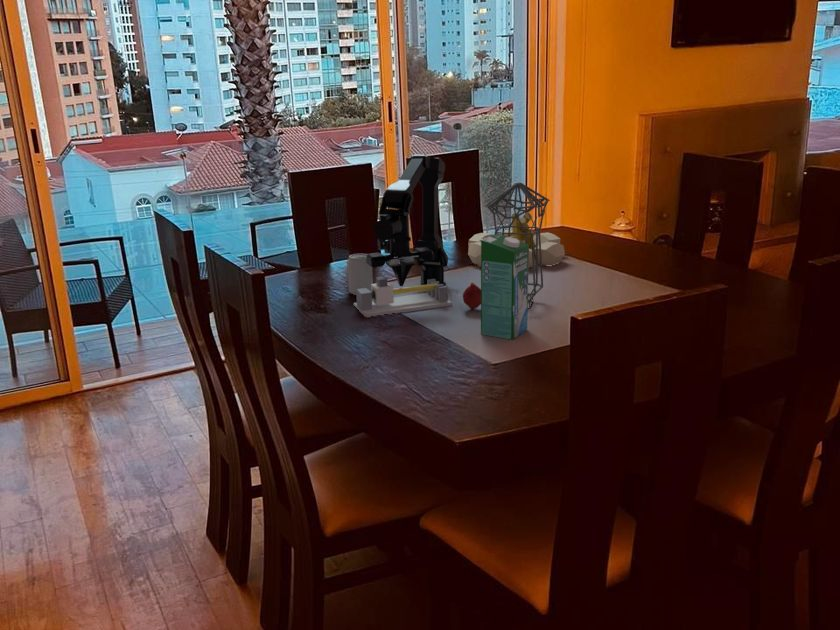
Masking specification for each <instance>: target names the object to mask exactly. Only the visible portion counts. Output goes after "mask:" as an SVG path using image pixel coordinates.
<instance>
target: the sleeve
mask: <svg viewBox="0 0 840 630" xmlns="http://www.w3.org/2000/svg"><path fill="white" fill-rule="evenodd" d="M393 289H394V286H393V285H392V284H391V283H389V282H388V278H387V277H385V276H377V277H375V283H373V284H371V291H375V294H376V298H374V299H372V301H373V302H374V303H375V304H376V305H383V304H390V303H394V297H395V296H394V295H393Z"/></svg>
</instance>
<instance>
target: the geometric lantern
mask: <svg viewBox="0 0 840 630" xmlns="http://www.w3.org/2000/svg"><path fill="white" fill-rule="evenodd" d="M521 193H523V194H524V196H525V197H526V199H527V200H528V201H523V200H522V196H521ZM509 194H510V195H509ZM513 194H514V199H512V196H513ZM508 195H509V196H508ZM535 195H536V196H535ZM507 196H508V198H506V197H507ZM537 196H538V197H540V198H538V197H537ZM517 197H518V198H519V199H518V200H517ZM501 201H504V202H505V205H501V204H500V205H499V203H501ZM549 201H551V199H549V198H547V197H546V196H544V195H542V194H541V193H539V192H537V191H535V190H534V189H532V188H531V187H529V186H527V185H526V184H524V183H523V182H515V183H513V184H512V185H511V186H510V187H509V188H507V189H506V190H504V191H503V192H501V193H500V194H499V195H497V196H496V197H495V198H493V199H492V200H489V202H487V203H486V204H485V206H486V208H487V209H488V210H489V211H490V212H491V213H492V215H493V223H494V234H496V233H499V234H502V235H504V234H508V237H510V234H520V235H525V244H527V235H531V242H532V262H533V266H532V277H533V279H532V280H533V283H531V282H528V286H533V289H532V291H531V292H530V293H529V292H528V307H530V305H531V301H530V300H533V301H534V297H535V296H536V295H537V294H538V293H539V292H540V291H541V290H542V289H543V288H544V278H543V277H544V276H543V265H542V256H541V239H540V233H541V230H542V225H543V220H544V216H545V214H546V213H545V212H546V207H547V205H548V203H549ZM511 202H514V203H511ZM517 203H520V206H517ZM523 204H526V205H525V206H523ZM529 204H530V205H529ZM528 205H529V206H528ZM499 208H501V209H503V210H504V213H502V212H500V211H499V210H498V209H499ZM508 208H509V209H513V212H514V213H513V214H515V216H512V215H511V216H507V211H506V209H508ZM535 208H537V215H536V216H535V219H534V220H533V217H532V218H531V216H532V215H531V216H530V214H531V213H530V212H531V211H533V210H534V209H535ZM516 211H517V212H516ZM516 213H517V214H516ZM525 213H528V215H529V216H530V218H531V220H530V221H531V222H532V226H529V227H525V226H523V225H522V223H521V221H520V220H519V218H520V216H522V215H524V214H525ZM529 213H530V214H529ZM496 216H497V219H498V220H499V222H500V224H499V225H498V226H497V221H496ZM500 216H501V217H503V219H502V220H501V217H500ZM518 216H519V218H518ZM540 217H541V218H540ZM512 218H514V219H513V220H512ZM516 218H517V220H518V221H519V223H520V225H521V226H512V224H513V222H514V220H515V219H516ZM538 218H540V222H539V227H538V226H536V224H535V223H536V221H537V219H538ZM505 219H506V220H508V219H511V222H510V224H509V225H504V224H503V223H504V221H505ZM512 227H517V228H523V230H524V231H525V233H510V230H511V228H512ZM525 228H529V229H531V230H530V233H527V231H526V230H525ZM505 229H507V230H508V233H506V232H504V231H505ZM533 229H535V231H533V232H534V233H531V231H532V230H533ZM500 230H502V231H500ZM533 234H534V235H536V256H535V251H534V242H533ZM538 237H539V254H540V266H539V263H538ZM534 259H535V263H536V265H535V264H534ZM538 267H539V268H540V284H539V282H538V281H539V280H538V277H539V276H538V275H539V271H538V270H539V268H538ZM537 286H538V287H539V288H538V289H537Z"/></svg>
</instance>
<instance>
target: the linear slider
mask: <svg viewBox="0 0 840 630" xmlns="http://www.w3.org/2000/svg"><path fill="white" fill-rule="evenodd" d="M448 287H449V286H445V285H443V284H439V281H436V280H435V279H430V280H427V285H424V284H421V285H413V286H406V287H404V286H403V287H397V288H393V297H394V303H390V304H383V305H376V304H375V303H374V302H373V301H372V299H374V298H376V294H375V291H369V290H368V289H367V288H362V289H356V302H353V307H354V306H355V307H356V308H357V309H358V310H359V311H358V310H357V309H356V308H355V307H354V308H355V309H356V310H357V311H358V312H359V313H361V314H362V315H363V316H364V318H366V317H367V318H372V317H371V316H374V317H378V316H377V315H381V316H385V315H384V314H388V315H393V314H392V313H395V314H401V313H400V312H403V313H408V312H415V311H416V312H417V311H423V310H430V309H438V308H445V307H452V306H453V302H452V301H450V300H449V299H448V296H449V293H448V290H449V289H448ZM421 292H425V293H421ZM412 293H417V294H412ZM405 294H409V295H405ZM398 295H402V296H398Z"/></svg>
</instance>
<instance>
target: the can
mask: <svg viewBox="0 0 840 630" xmlns="http://www.w3.org/2000/svg"><path fill="white" fill-rule="evenodd" d="M368 254H369V253H353V254H350V255H349V256H348V260H347V280H348V281H347V282H348V292H349V293H350V294H351V295H352V294H353V296H355V295H356V289H362V288H367V289H368V290H369V291H371V284H374V279H373V274H374V273H373V267H371V266H369V265H368V264H367V263H366V256H367V255H368Z"/></svg>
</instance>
